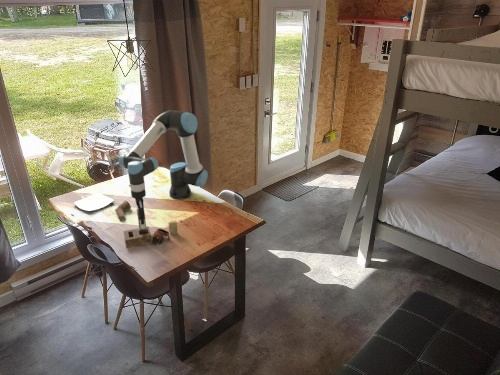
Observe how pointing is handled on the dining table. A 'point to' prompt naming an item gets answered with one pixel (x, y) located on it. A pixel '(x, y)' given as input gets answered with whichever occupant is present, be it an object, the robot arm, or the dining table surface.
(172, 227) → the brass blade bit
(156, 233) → the pottery mug
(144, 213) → the square steel bit
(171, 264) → the dining table surface
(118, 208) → the pipe
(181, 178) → the robot arm
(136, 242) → the socket block
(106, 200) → the plate
